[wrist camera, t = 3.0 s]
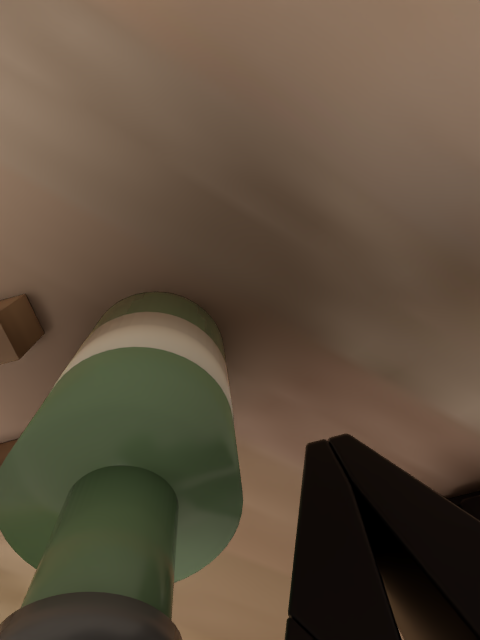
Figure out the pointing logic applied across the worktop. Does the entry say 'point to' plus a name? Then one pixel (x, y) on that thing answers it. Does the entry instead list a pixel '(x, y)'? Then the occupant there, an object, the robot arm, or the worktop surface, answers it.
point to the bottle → (124, 476)
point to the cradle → (16, 339)
